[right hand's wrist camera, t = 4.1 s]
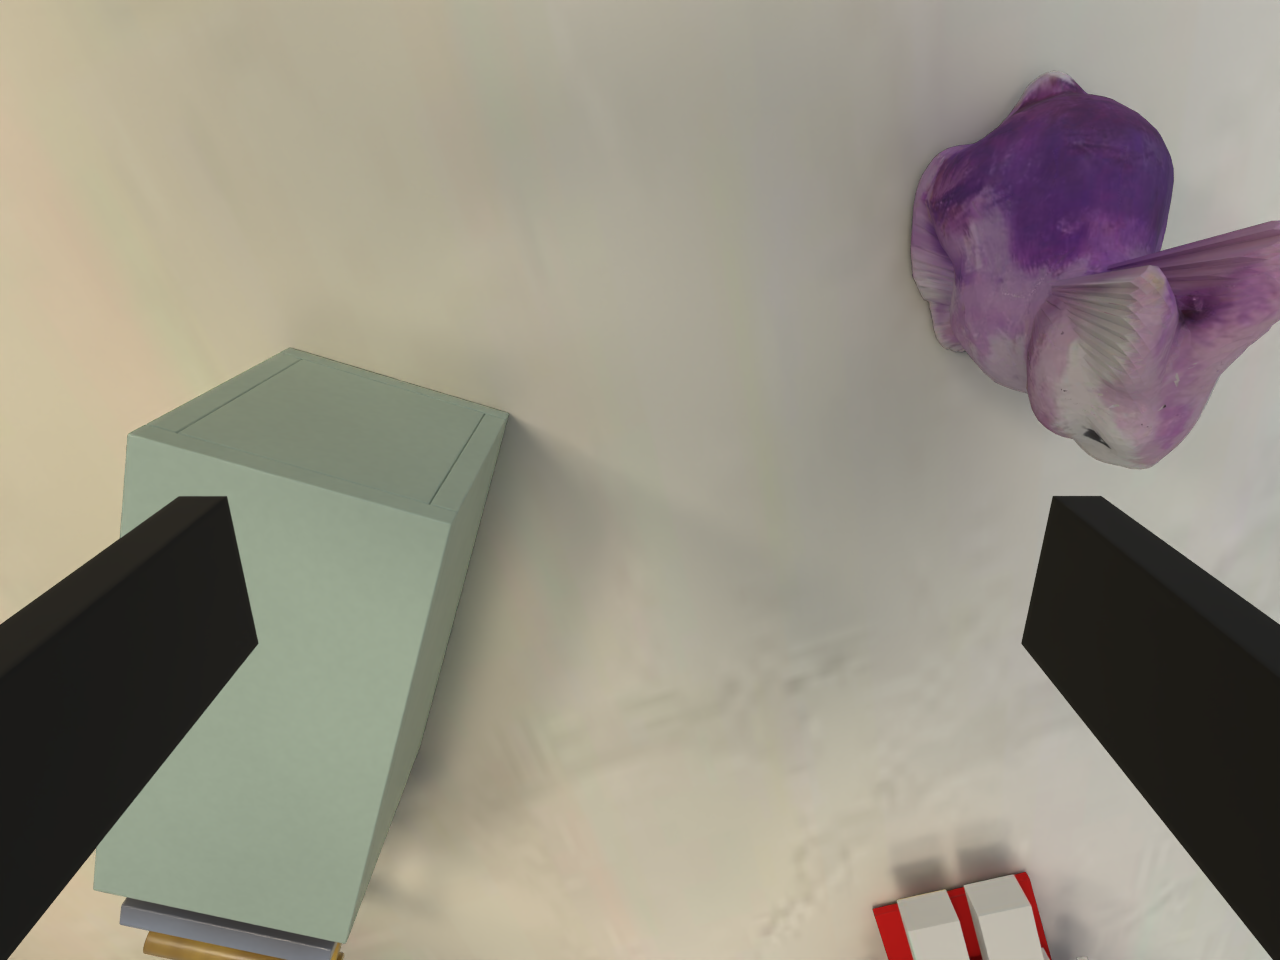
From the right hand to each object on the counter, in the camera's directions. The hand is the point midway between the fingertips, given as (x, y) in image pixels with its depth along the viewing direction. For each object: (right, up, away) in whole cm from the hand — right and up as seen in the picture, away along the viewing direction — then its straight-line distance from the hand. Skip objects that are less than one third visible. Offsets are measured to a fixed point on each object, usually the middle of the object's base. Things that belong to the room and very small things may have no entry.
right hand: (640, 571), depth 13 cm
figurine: (+15, +11, +20) cm, 27 cm away
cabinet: (-14, -3, +26) cm, 29 cm away
